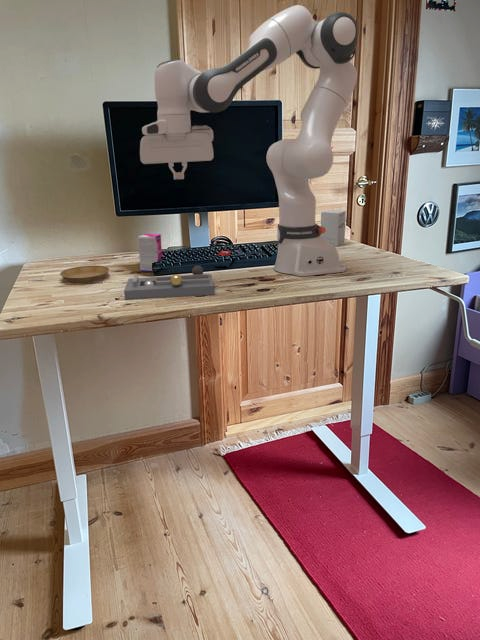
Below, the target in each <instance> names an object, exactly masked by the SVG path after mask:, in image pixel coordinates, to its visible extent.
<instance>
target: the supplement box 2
mask: <svg viewBox="0 0 480 640" xmlns="http://www.w3.org/2000/svg"><path fill="white" fill-rule="evenodd" d="M346 215H347V210H343V209H342V210H341V209H339V210H338V209H327V210H324V211H321V212H320V226H323V227H324V228H325V230H326V232H324V234H321V235H320V236H322V237H323V238H324V239H325V240H327V241H328V242H329V243H330V244H332V245H333V246H334V247H335V248H337V247H339V246H341V245H343V244H345V236H346V235H345V234H346V222H347V221H346V218H347V217H346Z"/></svg>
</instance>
